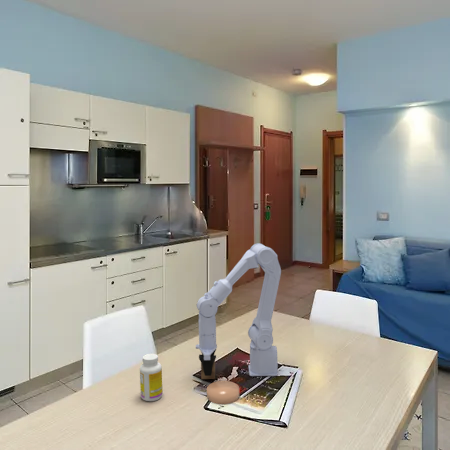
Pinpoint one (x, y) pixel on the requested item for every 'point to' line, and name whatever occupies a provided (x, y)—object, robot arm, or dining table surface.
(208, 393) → the tan round disc
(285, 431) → the dining table surface
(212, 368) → the walnut block
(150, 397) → the supplement bottle
